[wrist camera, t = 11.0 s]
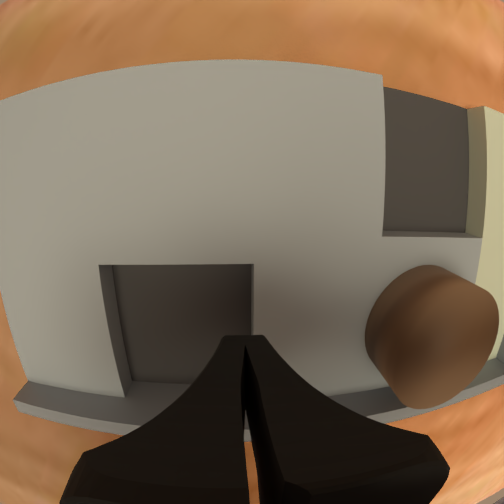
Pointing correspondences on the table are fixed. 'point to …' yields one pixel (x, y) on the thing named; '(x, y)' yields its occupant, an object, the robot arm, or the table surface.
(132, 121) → the trap board
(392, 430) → the robot arm
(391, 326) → the puck
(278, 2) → the table surface
